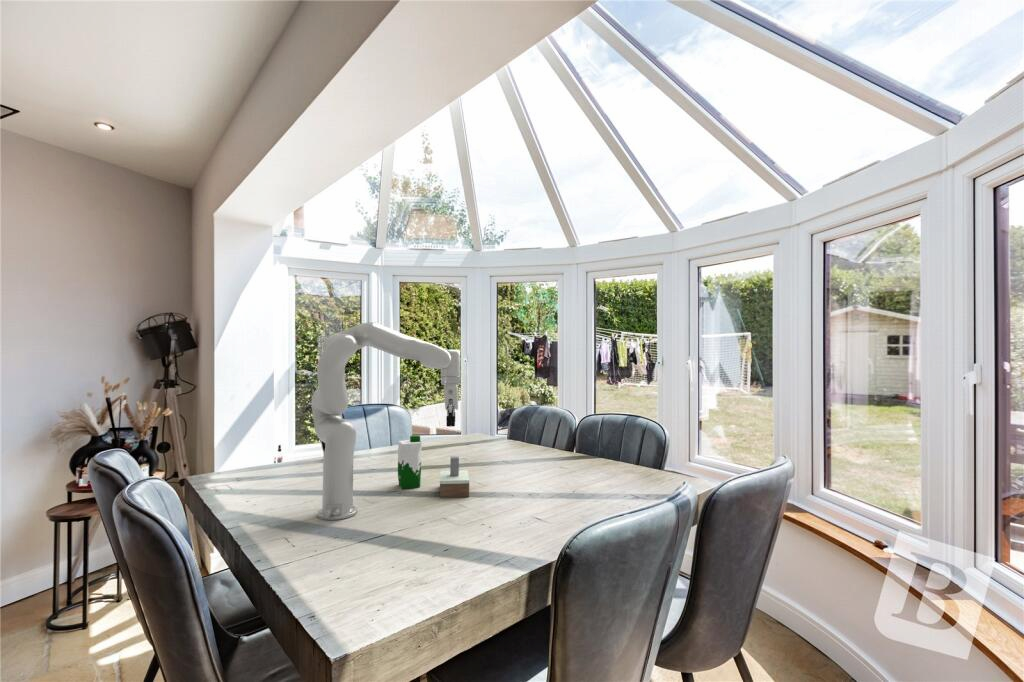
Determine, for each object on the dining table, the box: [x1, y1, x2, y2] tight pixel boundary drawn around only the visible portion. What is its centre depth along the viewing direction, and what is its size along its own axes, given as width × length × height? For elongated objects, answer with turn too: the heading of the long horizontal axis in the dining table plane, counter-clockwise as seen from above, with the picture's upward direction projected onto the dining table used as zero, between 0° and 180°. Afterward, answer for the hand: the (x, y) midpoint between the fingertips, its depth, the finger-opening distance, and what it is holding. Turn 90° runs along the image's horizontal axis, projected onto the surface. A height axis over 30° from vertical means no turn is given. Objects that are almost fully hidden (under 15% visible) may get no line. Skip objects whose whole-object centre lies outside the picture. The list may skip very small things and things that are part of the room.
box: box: [439, 482, 470, 498], centre depth 184 cm, size 15×11×5 cm
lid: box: [439, 455, 470, 485], centre depth 184 cm, size 15×11×8 cm
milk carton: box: [397, 434, 423, 490], centre depth 191 cm, size 9×9×20 cm
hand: (451, 424), depth 185 cm, fingers open, 9 cm apart
